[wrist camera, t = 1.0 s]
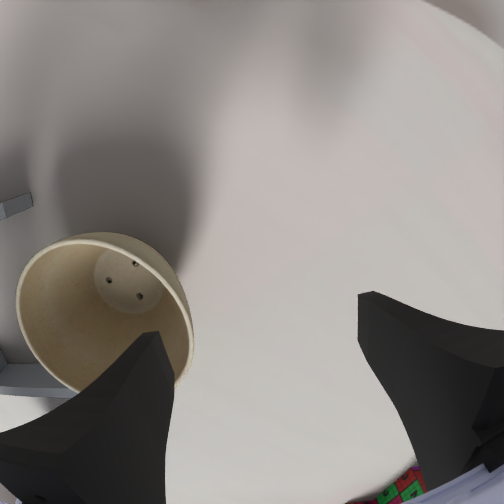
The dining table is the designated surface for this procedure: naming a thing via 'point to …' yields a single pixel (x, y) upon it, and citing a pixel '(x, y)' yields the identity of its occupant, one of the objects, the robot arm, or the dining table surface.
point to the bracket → (27, 374)
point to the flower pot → (100, 306)
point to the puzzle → (402, 489)
